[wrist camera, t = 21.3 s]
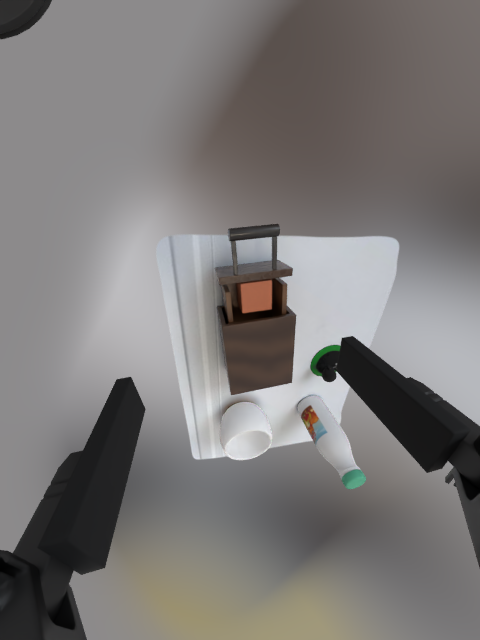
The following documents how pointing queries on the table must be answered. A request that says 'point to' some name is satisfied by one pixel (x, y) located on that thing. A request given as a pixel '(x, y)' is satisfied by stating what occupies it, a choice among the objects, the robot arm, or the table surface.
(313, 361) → the toy figurine
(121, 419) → the robot arm
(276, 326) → the cabinet
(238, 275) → the drawer
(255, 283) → the block
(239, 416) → the cup
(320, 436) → the milk bottle
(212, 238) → the table surface
